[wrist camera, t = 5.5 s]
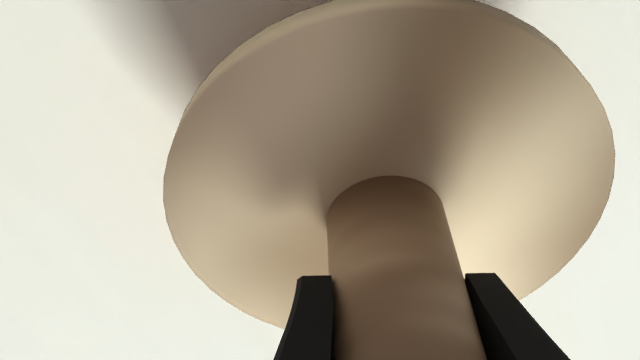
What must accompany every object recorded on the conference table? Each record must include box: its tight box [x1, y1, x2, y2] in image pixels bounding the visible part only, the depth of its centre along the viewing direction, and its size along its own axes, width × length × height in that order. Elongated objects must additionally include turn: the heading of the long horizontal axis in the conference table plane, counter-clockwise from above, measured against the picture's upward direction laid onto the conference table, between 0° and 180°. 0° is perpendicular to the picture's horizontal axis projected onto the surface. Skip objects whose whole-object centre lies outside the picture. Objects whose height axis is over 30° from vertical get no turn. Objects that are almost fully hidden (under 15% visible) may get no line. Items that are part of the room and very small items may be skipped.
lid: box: [163, 0, 615, 360], centre depth 11 cm, size 10×10×6 cm
